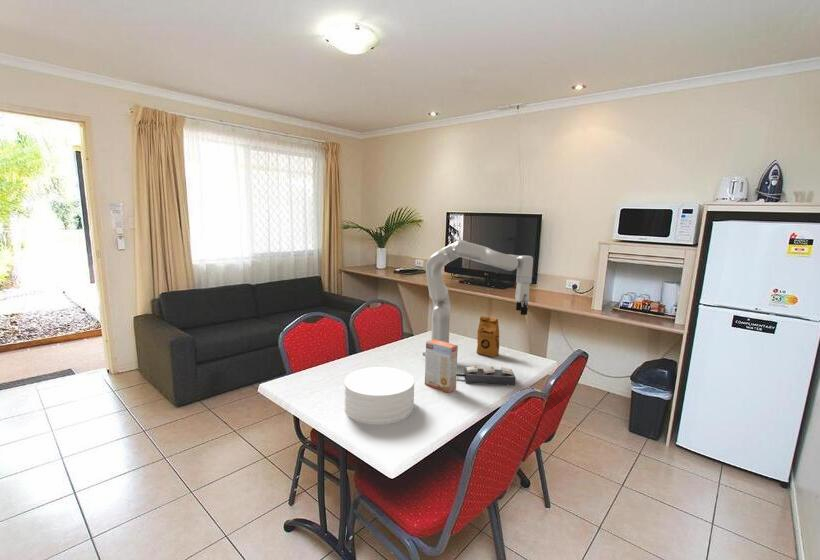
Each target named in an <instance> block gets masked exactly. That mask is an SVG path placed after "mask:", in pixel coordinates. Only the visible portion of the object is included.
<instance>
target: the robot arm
mask: <svg viewBox="0 0 820 560" xmlns="http://www.w3.org/2000/svg"><path fill="white" fill-rule="evenodd" d="M458 258H462V259H466V260H471V261H474V262H476V263H477V262H478V263H481V264H484V265H488V266H491V267H495V268H499V269H503V270H505V271H510V272H511V271H514V270H516V278H515V279H516V280H515V283H516V286H515V287H516V288H515V294H514V298H515V301H516V303H515V304H516V305H515V306H516V307H515V310H516V311H520V315H523V316H527V315H528V309H529V306H528V305H529V300H530V284H532V279H533V269H534V268H533V267H534V266H533V265H534V257H533V256H532V255H523V254H522V255H518V254H517V255H516V254H512V253H511V254H509V253H508V254H506V253H502V252H499V251H497V250H494V249H491V248H490V247H487V246H485V245H480V244H478V243H473V242H469V241H466V240H464V239H458V240H455V242H452V243H451V244H448V245H447V246H445V247H442V248H441V249H439V250H437V251H435V253H433V254H432V255H431V256H430V257H429V258H428V260H427V261H426V263H425V274H426V275H425V277H426V283H427V288H428V294H429V298H430V299H431V300H432V306H433V308H432V312H431V338H430V340H432V339H435V340H439V341H443V342H446V343H450V324H451V321H450V319H451V312H452V306H451V300H450V295H449V289H448V287H447V285H446V284H445V283H444V277H443V273H442V271H443V267H446V266H447V264H449V263H451V262H453V261H455V260H457V259H458ZM422 356H423V357H425V358H426V351H422Z"/></svg>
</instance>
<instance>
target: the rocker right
mask: <svg viewBox="0 0 820 560" xmlns="http://www.w3.org/2000/svg"><path fill="white" fill-rule="evenodd" d="M500 370H502V372H503V373H507V374H511V375H513V373H514V371H513V369H512V368H508V367H505V366H501V368H500Z"/></svg>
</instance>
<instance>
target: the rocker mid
mask: <svg viewBox="0 0 820 560" xmlns="http://www.w3.org/2000/svg"><path fill="white" fill-rule="evenodd" d="M482 369H483V371H484V373H491V372H495V370H496V369H495V367H494V366H487V367H483V368H482Z"/></svg>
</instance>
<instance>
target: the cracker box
mask: <svg viewBox="0 0 820 560" xmlns="http://www.w3.org/2000/svg"><path fill="white" fill-rule="evenodd" d="M458 347H459V346H458V345H457V344H454V343H450V342H449V343H446V342H443V341H439V340H435V339H432V340H431V339H429V340H426V341H425V352H426V357H425V360H424V361H425V365H424V367H425V370H424V385H426V386H429V387H432V388H434V389H436V390H437V389H438V390H439V391H440V390H441V391H443V392H445V393H451V392H454V391H455V390H456V389H457V377H458V376H457V374H458V372H457V371H458V349H459V348H458Z"/></svg>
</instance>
